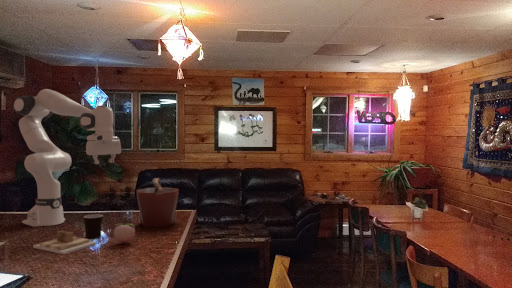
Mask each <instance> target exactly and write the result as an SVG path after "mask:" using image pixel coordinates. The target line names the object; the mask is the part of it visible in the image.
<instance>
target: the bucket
mask: <svg viewBox="0 0 512 288" xmlns="http://www.w3.org/2000/svg"><path fill="white" fill-rule="evenodd" d="M152 184H153V186H154V187H145V188H139V189H136V198H137V204H138V209H139V214H140V219H141V223H142V226H143V227H148V228H162V227H168V225H170V226H172V224H173V223H174V221H175V215H176V209H177V205H178V199H179V194H180V193H179V188H175V187H174V188H173V187H162V182H161V178H159V177H157V178H156V177H155V178H153V179H152Z"/></svg>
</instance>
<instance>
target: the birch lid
mask: <svg viewBox="0 0 512 288" xmlns="http://www.w3.org/2000/svg"><path fill="white" fill-rule="evenodd" d="M90 241H91V239H88V238H84V237H80V236H79V237H78V236H74V232H73V231H67V230H59V231H56V238H53V239H51V240H46V241H42V242H39V244H40V246H43V247H48V248H53V249H57V250H64V249H68V248H71V247H75V246H78V245H81V244H85V243H88V242H90Z"/></svg>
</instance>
